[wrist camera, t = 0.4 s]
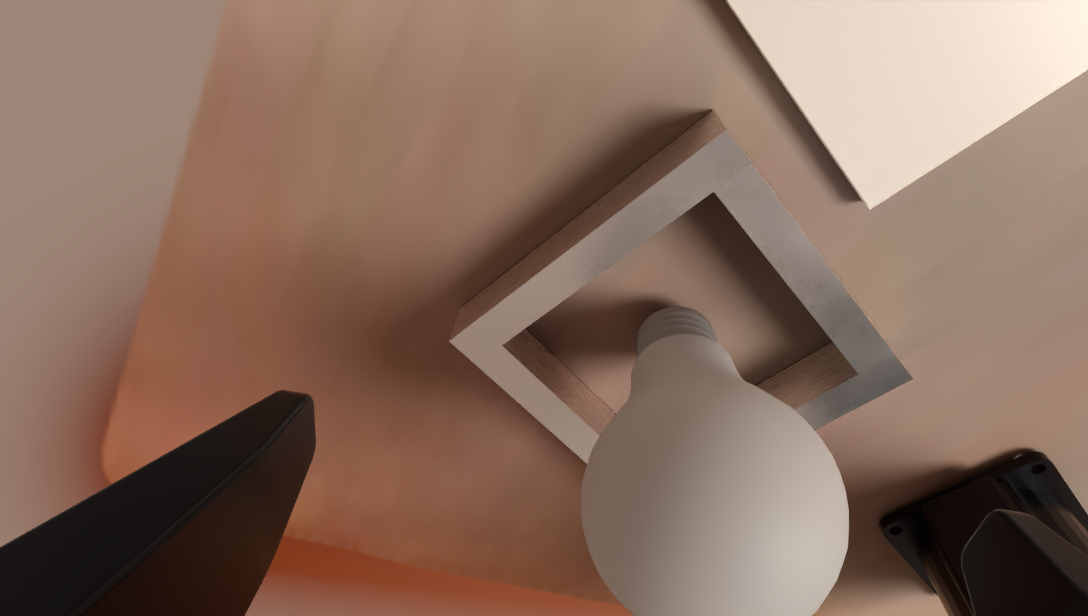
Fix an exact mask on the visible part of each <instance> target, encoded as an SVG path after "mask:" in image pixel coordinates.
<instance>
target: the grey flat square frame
mask: <svg viewBox="0 0 1088 616" xmlns="http://www.w3.org/2000/svg"><path fill="white" fill-rule="evenodd" d="M712 192H714V193H715V194H716V195H717V196H718V198H719V199H720V200H721V201H722V203H723V204H724V205H725V206H726V208H727V209H728V210H729V211H730V213H731V214H732V215H733V217H734V218H735V219H736V220H737V222H738V223H739V224H740V225H741V227H742V228H743V229H744V230H745V232H746V233H747V234H748V235H749V237H750V238H751V239H752V240H753V242H754V243H755V244H756V246H757V247H758V248H759V249H760V251H761V252H762V253H763V254H764V256H765V257H766V258H767V259H768V261H769V262H770V263H771V264H772V266H773V267H774V268H775V269H776V271H777V272H778V273H779V275H780V276H781V277H782V278H783V280H784V281H785V282H786V283H787V285H788V286H789V287H790V288H791V290H792V291H793V292H794V293H795V295H796V296H797V297H798V298H799V300H800V301H801V302H802V304H803V305H804V306H805V307H806V309H807V310H808V311H809V312H810V314H811V315H812V316H813V317H814V319H815V320H816V321H817V322H818V324H819V325H820V326H821V327H822V329H823V330H824V331H825V333H826V334H827V335H828V336H829V338H830V339H831V340H832V341H833V342H831V343H830V344H828V345H826V346H824V347H823V348H821V349H819V350H817V351H816V352H814V353H812V354H810V355H809V356H807V357H805V358H803V359H802V360H800V361H798V362H796V363H795V364H793V365H791V366H789V367H788V368H786V369H784V370H782V371H781V372H779V373H777V374H775V375H774V376H772V377H770V378H768V379H767V380H765V381H763V382H762V383H760V384H758V385H756V387H758V388H760V389H761V390H763V391H765V392H767V393H769V394H770V395H772V396H773V397H775V398H777V399H778V400H780V401H782V402H783V403H785V404H786V405H788V406H790V407H791V408H792V409H793V410H795V411H796V412H797V413H798V414H799V415H800V416H801V417H802V418H804V419H805V420H806V421H807V422H808V424H809V425H810V426H811V427H812V428H813V429H814V430H816V429H817V428H819V427H821V426H823V425H825V424H827V423H829V422H831V421H833V420H835V419H837V418H839V417H840V416H842V415H844V414H846V413H848V412H850V411H852V410H854V409H856V408H858V407H860V406H862V405H864V404H865V403H867V402H869V401H871V400H873V399H875V398H877V397H879V396H881V395H883V394H885V393H887V392H889V391H890V390H892V389H894V388H896V387H898V386H900V385H902V384H904V383H906V382H908V381H910V380H912V379H913V378H912V377H911V375H910V374H909V372H908V371H907V369H906V368H905V367H904V365H903V364H902V362H901V361H900V359H899V358H898V356H897V355H896V354H895V352H894V351H893V349H892V348H891V346H890V345H889V343H888V342H887V341H886V339H885V338H884V337H883V335H882V334H881V333H880V331H879V330H878V329H877V327H876V326H875V325H874V323H873V322H872V321H871V319H870V318H869V317H868V315H867V314H866V313H865V311H864V310H863V309H862V307H861V306H860V305H859V303H858V302H857V301H856V299H855V298H854V297H853V295H852V294H851V293H850V291H849V290H848V288H847V287H846V286H845V284H844V283H843V282H842V280H841V279H840V278H839V276H838V275H837V274H836V272H835V271H834V270H833V268H832V267H831V266H830V264H829V263H828V262H827V260H826V259H825V258H824V256H823V255H822V254H821V252H820V251H819V250H818V248H817V247H816V246H815V244H814V243H813V242H812V240H811V239H810V238H809V236H808V235H807V234H806V232H805V231H804V230H803V228H802V227H801V225H800V224H799V223H798V221H797V220H796V219H795V217H794V216H793V215H792V213H791V212H790V211H789V209H788V208H787V207H786V205H785V204H784V203H783V201H782V200H781V199H780V197H779V196H778V195H777V193H776V192H775V191H774V189H773V188H772V187H771V185H770V184H769V183H768V181H767V180H766V179H765V177H764V176H763V175H762V173H761V172H760V171H759V169H758V168H757V167H756V165H755V164H754V163H753V161H752V160H751V158H750V157H749V156H748V154H747V153H746V152H745V150H744V149H743V148H742V146H741V145H740V144H739V142H738V141H737V140H736V138H735V137H734V136H733V134H732V133H731V132H730V130H729V129H728V128H727V126H726V125H725V124H724V122H723V121H722V120H721V118H720V117H719V116H718V114H717V113H716V112H715V110H712V111H711V112H710V113H708V114H707V115H706V116H705V117H703V118H702V119H701V120H700V121H698V122H697V123H696V124H694V125H693V126H692V127H691V128H689V129H688V130H687V131H685V132H684V133H683V134H682V135H680V136H679V137H678V138H677V139H675V140H674V141H673V142H671V143H670V144H669V145H668V146H666V147H665V148H664V149H663V150H661V151H660V152H659V153H657V154H656V155H655V156H654V157H652V158H651V159H650V160H649V161H647V162H646V163H645V164H643V165H642V166H641V167H640V168H638V169H637V170H636V171H635V172H633V173H632V174H631V175H629V176H628V177H627V178H626V179H624V180H623V181H622V182H620V183H619V184H618V185H617V186H615V187H614V188H613V189H612V190H610V191H609V192H608V193H606V194H605V195H604V196H603V197H601V198H600V199H599V200H598V201H596V202H595V203H594V204H592V205H591V206H590V207H589V208H587V209H586V210H585V211H584V212H582V213H581V214H580V215H578V216H577V217H576V218H575V219H573V220H572V221H571V222H569V223H568V224H567V225H566V226H564V227H563V228H562V229H561V230H559V231H558V232H557V233H555V234H554V235H553V236H552V237H550V238H549V239H548V240H547V241H545V242H544V243H543V244H541V245H540V246H539V247H538V248H536V249H535V250H534V251H533V252H531V253H530V254H529V255H527V256H526V257H525V258H524V259H522V260H521V261H520V262H518V263H517V264H516V265H515V266H513V267H512V268H511V269H510V270H508V271H507V272H506V273H504V274H503V275H502V276H501V277H499V278H498V279H497V280H496V281H494V282H493V283H492V284H490V285H489V286H488V287H487V288H485V289H484V290H483V291H482V292H480V293H479V294H478V295H476V296H475V297H474V298H473V299H471V300H470V301H469V302H467V303H466V304H465V305H464V306H462V307H461V308H460V309H459V312H458V315H457V319H456V322H455V325H454V328H453V331H452V334H451V337H450V340H449V342H451V343H452V344H453V345H454V346H455V347H456V348H457V349H458V350H460V351H461V352H462V353H463V354H464V355H465V356H466V357H467V358H468V359H470V360H471V361H472V362H473V363H474V364H475V365H476V366H477V367H479V368H480V369H481V370H482V371H483V372H484V373H485V374H486V375H488V376H489V377H490V378H491V379H492V380H493V381H494V382H495V383H497V384H498V385H499V386H500V387H501V388H502V389H503V390H504V391H506V392H507V393H508V394H509V395H510V396H511V397H512V398H513V399H515V400H516V401H517V402H518V403H519V404H520V405H521V406H522V407H524V408H525V409H526V410H527V411H528V412H529V413H530V414H531V415H533V416H534V417H535V418H536V419H537V420H538V421H539V422H540V423H541V424H543V425H544V426H545V427H546V428H547V429H548V430H549V431H550V432H552V433H553V434H554V435H555V436H556V437H557V438H558V439H559V440H561V441H562V442H563V443H564V444H565V445H566V446H567V447H568V448H570V449H571V450H572V451H573V452H574V453H575V454H576V455H577V456H579V457H580V458H581V459H582V460H583V461H584V462H585V463H586V464H587V463H588V460H589V457H590V454H591V451H592V449H593V447H594V445H595V443H596V442H597V440H598V438H599V436H600V434H601V433H602V432H603V430H604V429H605V428H606V426H607V425H608V424H609V422H610V421H611V420H612V418H613V417H614V416H615V414H614V413H613V412H612V411H611V410H610V409H609V408H608V407H607V406H606V405H605V404H604V403H603V402H602V401H601V400H600V399H599V398H597V397H596V396H595V395H594V394H593V393H592V392H591V391H590V390H589V389H588V388H587V387H586V386H585V385H584V384H583V383H582V382H581V381H580V380H579V379H578V378H577V377H576V376H574V375H573V374H572V373H571V372H570V371H569V370H568V369H567V368H566V367H565V366H564V365H563V364H562V363H561V362H560V361H559V360H558V359H557V358H556V357H555V356H554V355H553V354H551V353H550V352H549V351H548V350H547V349H546V348H545V347H544V346H543V345H542V344H541V343H540V342H539V341H538V340H537V339H536V338H535V337H534V336H533V335H532V334H531V333H530V332H528V331H527V330H526V329H525V328H527V327H528V326H529V325H531V324H532V323H533V322H535V321H536V320H538V319H539V318H540V317H542V316H543V315H544V314H546V313H547V312H549V311H550V310H551V309H553V308H554V307H556V306H557V305H558V304H560V303H561V302H562V301H564V300H565V299H567V298H568V297H569V296H571V295H572V294H573V293H575V292H576V291H578V290H579V289H580V288H582V287H583V286H584V285H586V284H587V283H589V282H590V281H591V280H593V279H594V278H595V277H597V276H598V275H600V274H601V273H602V272H604V271H605V270H606V269H608V268H609V267H611V266H612V265H613V264H615V263H616V262H617V261H619V260H620V259H622V258H623V257H624V256H626V255H627V254H628V253H630V252H631V251H633V250H634V249H635V248H637V247H638V246H639V245H641V244H642V243H644V242H645V241H646V240H648V239H649V238H651V237H652V236H653V235H655V234H656V233H657V232H659V231H660V230H662V229H663V228H664V227H666V226H667V225H668V224H670V223H671V222H673V221H674V220H675V219H677V218H678V217H679V216H681V215H682V214H684V213H685V212H686V211H688V210H689V209H690V208H692V207H693V206H695V205H696V204H697V203H699V202H700V201H701V200H703V199H704V198H706V197H707V196H708V195H710V194H711V193H712Z"/></svg>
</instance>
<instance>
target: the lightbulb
mask: <svg viewBox="0 0 1088 616" xmlns="http://www.w3.org/2000/svg"><path fill="white" fill-rule="evenodd" d="M581 522H582V526H583V530H584V535H585V539H586V542H587V546H588V549H589V552H590V555H591V557H592V560H593V562H594V564H595V566H596V569H597V571H598V573H599V575H600V576H601V578H602V579H603V581H604V582H605V584H606V586H607V587H608V588H609V590H610V591H611V592H612V593H613V594H614V596H615V597H616V598H617V599H618V601H619V602H620V603H621V604H622V605H623V606H624V607H625V608H626V609H627V610H628V611H629V612H630V613H632V614H633V615H634V616H812V615H813V614H814V613H815V612H816V611H817V610H818V609H819V607H820V606H821V604H822V603H823V601H824V600H825V598H826V597H827V596H828V594H829V592H830V591H831V589H832V588H833V586H834V584H835V583H836V581H837V578H838V576H839V573H840V570H841V568H842V565H843V562H844V559H845V556H846V552H847V549H848V537H849V508H848V502H847V496H846V490H845V487H844V483H843V480H842V477H841V474H840V471H839V469H838V467H837V465H836V462H835V460H834V458H833V456H832V454H831V452H830V451H829V449H828V448H827V446H826V445H825V443H824V442H823V440H822V439H821V438H820V436H819V435H818V434H817V433H816V432H815V431H814V429H813V428H812V427H811V426H810V425H809V424H808V422H807V421H806V420H805V419H804V418H802V417H801V416H800V415H799V414H798V413H797V412H796V411H795V410H793V409H792V408H791V407H790V406H788V405H786V404H785V403H783V402H782V401H780V400H778V399H777V398H775V397H773V396H772V395H770V394H769V393H767V392H765V391H763V390H761V389H760V388H758V387H756V386H754V385H752V384H750V383H748V382H746V381H744V380H743V379H742V378H741V376H740V375H739V373H738V372H737V370H736V367H735V365H734V363H733V360H732V358H731V357H730V355H729V354H728V352H727V351H726V350H725V349H724V348H723V347H722V346H721V345H719V343H718V340H717V338H716V335H715V333H714V331H713V329H712V327H711V325H710V323H709V321H708V320H707V319H706V317H704V316H703V315H702V314H701V313H699V312H698V311H696V310H693V309H690V308H687V307H668V308H664V309H661V310H659V311H657V312H655V313H653V314H652V315H650V316H649V317H648V318H647V319H646V320H645V321H644V322H643V323H642V325H641V327H640V329H639V332H638V337H637V360H636V362H635V364H634V366H633V370H632V373H631V392H630V396H629V399H628V401H627V402H626V403H625V404H624V406H623V407H622V408H621V409H620V410H619V411H618V412H617V413H616V415H615V416H614V417H613V418H612V420H611V421H610V422H609V424H608V425H607V426H606V428H605V429H604V430H603V432H602V433H601V434H600V436H599V438H598V440H597V442H596V443H595V445H594V447H593V449H592V451H591V454H590V457H589V460H588V463H587V466H586V470H585V474H584V477H583V481H582V485H581Z"/></svg>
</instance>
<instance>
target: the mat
mask: <svg viewBox="0 0 1088 616" xmlns="http://www.w3.org/2000/svg"><path fill="white" fill-rule="evenodd" d="M725 1H726V3H727V4H728V6H729V7H730V9H731V10H732V12H733V13H734V15H735V16H736V17H737V19H738V20H739V22H740V23H741V25H742V26H743V28H744V29H745V31H746V32H747V33H748V35H749V36H750V38H751V39H752V41H753V42H754V44H755V45H756V47H757V48H758V50H759V51H760V52H761V54H762V55H763V57H764V58H765V60H766V61H767V63H768V64H769V66H770V67H771V69H772V70H773V71H774V73H775V74H776V76H777V77H778V79H779V80H780V82H781V83H782V85H783V86H784V88H785V89H786V90H787V92H788V93H789V95H790V96H791V98H792V99H793V101H794V102H795V104H796V105H797V107H798V108H799V109H800V111H801V112H802V114H803V115H804V117H805V118H806V120H807V121H808V123H809V124H810V126H811V127H812V128H813V130H814V131H815V133H816V134H817V136H818V137H819V139H820V140H821V142H822V143H823V144H824V146H825V147H826V149H827V150H828V152H829V153H830V155H831V156H832V158H833V159H834V161H835V162H836V163H837V165H838V166H839V168H840V169H841V171H842V172H843V174H844V175H845V177H846V178H847V180H848V181H849V182H850V184H851V185H852V187H853V188H854V190H855V191H856V193H857V194H858V196H859V197H860V199H861V200H862V201H863V203H864V204H865V205H866V206H867V207H868V208H869V209H872V208H873V207H875V206H876V205H878V204H879V203H881V202H882V201H884V200H886V199H887V198H889V197H890V196H892V195H893V194H895V193H896V192H898V191H900V190H901V189H903V188H904V187H906V186H907V185H909V184H910V183H912V182H914V181H915V180H917V179H918V178H920V177H921V176H923V175H924V174H926V173H928V172H929V171H931V170H932V169H934V168H935V167H937V166H938V165H940V164H942V163H943V162H945V161H946V160H948V159H949V158H951V157H952V156H954V155H956V154H957V153H959V152H960V151H962V150H963V149H965V148H966V147H968V146H970V145H971V144H973V143H974V142H976V141H977V140H979V139H980V138H982V137H984V136H985V135H987V134H988V133H990V132H991V131H993V130H994V129H996V128H998V127H999V126H1001V125H1002V124H1004V123H1005V122H1007V121H1008V120H1010V119H1012V118H1013V117H1015V116H1016V115H1018V114H1019V113H1021V112H1022V111H1024V110H1026V109H1027V108H1029V107H1030V106H1032V105H1033V104H1035V103H1036V102H1038V101H1040V100H1041V99H1043V98H1044V97H1046V96H1047V95H1049V94H1050V93H1052V92H1054V91H1055V90H1057V89H1058V88H1060V87H1061V86H1063V85H1064V84H1066V83H1068V82H1069V81H1071V80H1072V79H1074V78H1075V77H1077V76H1078V75H1080V74H1082V73H1083V72H1085V71H1086V70H1088V0H725Z"/></svg>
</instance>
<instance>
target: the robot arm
mask: <svg viewBox="0 0 1088 616" xmlns="http://www.w3.org/2000/svg"><path fill="white" fill-rule="evenodd" d="M315 445H316V435H315V416H314V402H313V399H312V397H311V396H310V395H308V394H304V393H298V392H292V391H286V390H281V391H277V392H275V393H273V394H271V395H270V396H268V397H266V398H264V399H262V400H261V401H259V402H257V403H255V404H254V405H252V406H250V407H248V408H246V409H245V410H243V411H241V412H239V413H238V414H236V415H234V416H232V417H230V418H229V419H227V420H225V421H223V422H222V423H220V424H218V425H216V426H215V427H213V428H211V429H209V430H207V431H206V432H204V433H202V434H200V435H199V436H197V437H195V438H193V439H191V440H190V441H188V442H186V443H184V444H183V445H181V446H179V447H177V448H175V449H174V450H172V451H170V452H168V453H167V454H165V455H163V456H161V457H160V458H158V459H156V460H154V461H152V462H151V463H149V464H147V465H145V466H144V467H142V468H140V469H138V470H136V471H135V472H133V473H131V474H129V475H128V476H126V477H124V478H122V479H120V480H119V481H117V482H115V483H113V484H112V485H110V486H108V487H106V488H105V489H103V490H101V491H99V492H97V493H96V494H94V495H92V496H91V497H89V498H87V499H85V500H83V501H81V502H80V503H78V504H76V505H74V506H73V507H71V508H69V509H67V510H66V511H64V512H62V513H60V514H58V515H57V516H55V517H53V518H51V519H49V520H48V521H46V522H44V523H42V524H41V525H39V526H37V527H35V528H34V529H32V530H30V531H28V532H26V533H25V534H23V535H21V536H19V537H18V538H16V539H14V540H12V541H11V542H9V543H7V544H5V545H3V546H2V547H0V616H245V614H246V612H247V610H248V608H249V606H250V604H251V602H252V601H253V598H254V597H255V595H256V593H257V591H258V589H259V587H260V585H261V583H262V581H263V579H264V577H265V575H266V573H267V571H268V569H269V567H270V565H271V563H272V560H273V558H274V555H275V553H276V551H277V549H278V546H279V544H280V541H281V538H282V536H283V533H284V531H285V528H286V526H287V523H288V520H289V518H290V515H291V513H292V510H293V508H294V505H295V503H296V500H297V497H298V495H299V492H300V490H301V487H302V485H303V482H304V480H305V477H306V474H307V472H308V469H309V467H310V464H311V462H312V459H313V456H314V452H315ZM879 526H880V528H881V531H882V533H883V535H884V536H885V538H886V539H887V540H888V541H889V542H890V543H891V544H892V545H893V546H894V548H895V549H896V550H897V551H898V552H899V553H900V554H901V555H902V556H903V558H904V559H905V560H906V561H907V562H908V563H909V564H910V565H911V566H912V568H913V569H914V570H915V571H916V572H917V573H918V574H919V575H920V576H921V578H922V579H923V580H924V581H925V582H926V583H927V584H928V585H929V586H930V588H931V589H932V590H933V591H934V592H935V593H936V594H937V595H938V596H939V598H940V600H941V602H942V604H943V606H944V608H945V610H946V612H947V614H948V616H1088V515H1087V513H1086V512H1085V510H1084V509H1083V508H1082V506H1081V505H1080V503H1079V502H1078V500H1077V499H1076V497H1075V496H1074V494H1073V493H1072V491H1071V490H1070V488H1069V487H1068V485H1067V484H1066V482H1065V481H1064V479H1063V478H1062V476H1061V475H1060V473H1059V472H1058V470H1057V469H1056V467H1055V466H1054V465H1053V463H1052V462H1051V461H1050V460H1049V458H1048V457H1047V456H1046V455H1045V454H1044V453H1041V452H1031V453H1028V454H1025V455H1023V456H1021V457H1018V458H1016V459H1014V460H1011V461H1009V462H1007V463H1005V464H1002V465H1000V466H998V467H996V468H993V469H991V470H989V471H987V472H984V473H982V474H980V475H978V476H975V477H973V478H971V479H969V480H966V481H964V482H962V483H960V484H957V485H955V486H953V487H951V488H948V489H946V490H944V491H942V492H939V493H937V494H935V495H932V496H930V497H928V498H926V499H923V500H921V501H919V502H917V503H914V504H912V505H910V506H908V507H905V508H903V509H901V510H899V511H896V512H894V513H892V514H890V515H887V516H885V517H884V518H882V519H881V520H880V522H879Z"/></svg>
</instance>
